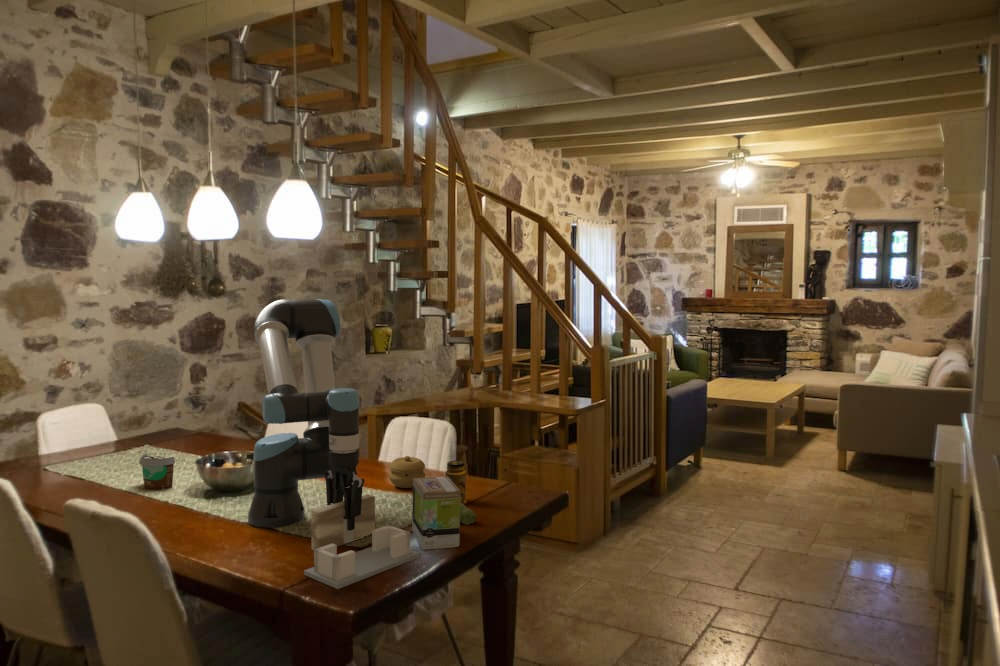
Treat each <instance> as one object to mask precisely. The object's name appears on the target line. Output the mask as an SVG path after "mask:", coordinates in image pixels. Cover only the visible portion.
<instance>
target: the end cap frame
mask: <svg viewBox="0 0 1000 666" xmlns="http://www.w3.org/2000/svg"><path fill="white" fill-rule="evenodd" d="M411 535H412V534H411V531H408V530H404V529H401V528H398V527H396V526H392V525H390V524H388V525H384V526H382V527H377V528H375V530H372V535H371V536H372V537H371V545H372V546H370V547H367V548H364V549H362V550H358V551H354V550H351V549H350V550H347V551H345V552H341V553H337V551H338V550H337V549H338V546H337V545H335V544H333V543H332V544H329V545H326V546H323V547H320V548H317V549H314V550H313V566H312V567H309V568H308V569H304V570H303V575H304V576H306V577H308V578H310V579H313V580H314V581H318V582H320V583H323V584H324V585H327V586H329V587H332V588H334V589H336V590H339V589H342V588H345V587H347V586H349V585H352V584H354V583H357V582H360V581H363V580H365V579H367V578H370V577H372V576H373V577H374V576H375V575H377V574H378V575H379V574H380V573H383V572H385V571H387V570H390V569H393V568H395V567H398V566H400V565H403V564H406V563H408V562H411V561H414V560H416V559H418V558H421V553H420V552H419V551H416V550H413V549H411V537H412V536H411Z"/></svg>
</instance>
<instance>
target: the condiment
mask: <svg viewBox="0 0 1000 666" xmlns="http://www.w3.org/2000/svg"><path fill="white" fill-rule="evenodd" d="M445 477H449V478H450V479H451V481H452V482H453V483H454V484H455V485H456V486H457V487H458V488H459V490H460V492H461V499H460V503H462V502H464V501H465V499H466V470H465V462H464V461H462V460H449V461H448V462H447V463H446V471H445Z"/></svg>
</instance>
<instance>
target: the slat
mask: <svg viewBox="0 0 1000 666" xmlns="http://www.w3.org/2000/svg"><path fill="white" fill-rule="evenodd" d="M310 511H311V512H310V515H311V516H310V517H311V519H310V521H311V524H310V525H311V526H310V528H311V531H310V532H311V551H314V549H317V548H320V547H323V546H326V545H329V544H332V543H333V544H335V545H337V547H340V546H342V545H346V544H345V543H344V539H343V517H344V516H346V514H345V504H344V500H343V501H342V502H338V503H335V504H332V503H331V505H328V506H327V505H325V506H321V507H318V508H314V509H311V510H310ZM375 529H376V496H375V495H370V494H367V493H366V494H362V504H361V515H359V516H356V517H355V529H354V540H355V539H357V540H359V539H358V538H360V539H362V538H361V537H363V538H365V537H364V536H366V537H368V536H367V535H369V534H372V530H375ZM369 536H370V535H369ZM355 541H356V540H355Z"/></svg>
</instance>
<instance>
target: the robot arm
mask: <svg viewBox="0 0 1000 666" xmlns="http://www.w3.org/2000/svg"><path fill="white" fill-rule="evenodd" d="M340 319H341V317H340V314H339V310H338V307H337V306H336V304H335V303H334V302H333V301H331V300H330V299H319V298H315V299H288V298H287V299H284V298H283V299H278V300H275V301H273V302H270V303H269V304H268V305H266V306H265V307H264V308H263V309H262V310H261V311H260V312H259V314H258V315H257V317H256V319H255V321H254V326H253V335H254V339H255V342H256V344H258V345H259V348H260V355H261V360H262V366H263V371H264V378H265V382H266V388H267V394H265V395H264V396H263V397H262V402H261V405H262V406H261V411H262V419H263V422H264V423H265V424H272V425H273V424H276V425H283V424H292V423H306V422H307V427H306V428H305V430H304V431H303V433H302V436H303V437H302V438H299V436H298V434H297V433H294V432H287V433H286V432H283V433H275V434H271V435H268V436H265V437H263V438H260V439H258V441H257V442H255V445H254V450H253V461H254V462H253V463H254V464H253V466H254V467H253V469H254V470H253V471H254V473H253V474H254V475H253V476H254V477H253V478H254V480H253V481H254V484H253V486H254V492H253V496H252V500H251V503H250V506H249V511H248V512H247V513H248V514H247V522H248V524H249V525H251V526H254V527H257V528H268V529H269V528H271V529H272V528H282V527H287V526H292V525H295V524H298V523H301V522H302V521H304V519H305V516H306V515H305V511H306V510H305V507H304V503H303V501H302V498H301V495H300V492H299V481H305V480H306V481H308V480H315V479H325V491H326V506H328V505H331V504H335V503H338V502H342V501H344V504H345V514H346V516H344V517H343V539H344V543H345V544H344V545H346V544H349V543H352V542H354V529H355V517H356V516H359V515H361V504H362V496H363V487H364V484H365V479H364V478H360V477H359V476H358V472H357V466H358V465H359V463H360V451H359V450H358V449H359V447H360V422H359V421H360V403H361V402H360V396H359V391H358V390H357V389H355V388H351V387H350V388H349V387H340V388H339V387H338V388H336V384H335V383H336V382H335V373H334V362H333V354H332V347H333V345H335V343H336V341H337V340H336V338H338V337H340V333H341V320H340ZM288 339H295V345H296V346H297V347H298V348H299V349H301V357H302V366H303V380H304V390H305V391H304V392H299V390H298V385H297V380H296V376H295V372H294V366H293V360H292V357H291V353H290V349H289V342H288Z"/></svg>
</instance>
